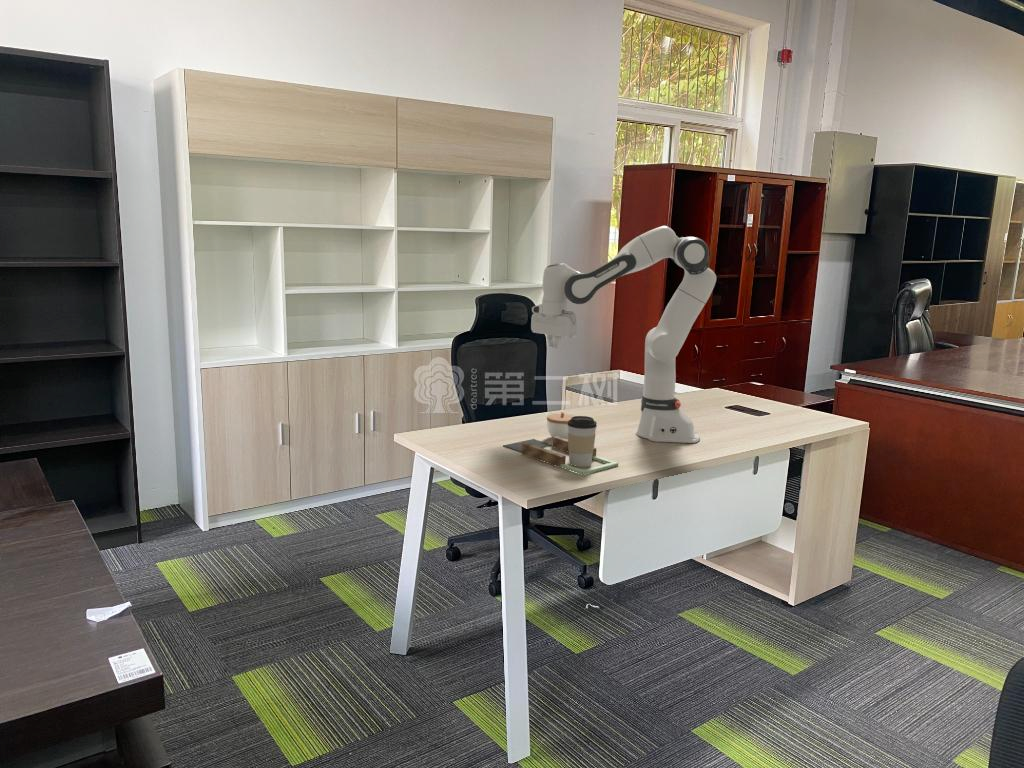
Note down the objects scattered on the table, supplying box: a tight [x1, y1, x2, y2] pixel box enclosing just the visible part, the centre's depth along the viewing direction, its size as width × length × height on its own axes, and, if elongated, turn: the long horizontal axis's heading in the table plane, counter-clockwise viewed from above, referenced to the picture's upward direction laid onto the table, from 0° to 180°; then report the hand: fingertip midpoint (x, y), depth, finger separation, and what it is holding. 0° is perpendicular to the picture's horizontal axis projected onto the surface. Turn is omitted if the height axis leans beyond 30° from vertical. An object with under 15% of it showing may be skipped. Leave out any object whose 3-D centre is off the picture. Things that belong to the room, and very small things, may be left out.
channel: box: [521, 436, 597, 468], centre depth 242 cm, size 18×16×4 cm
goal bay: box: [561, 455, 619, 476], centre depth 232 cm, size 10×16×1 cm, turn 131°
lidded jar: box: [546, 411, 576, 439], centre depth 263 cm, size 11×11×9 cm
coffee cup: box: [568, 415, 598, 467], centre depth 234 cm, size 9×9×15 cm
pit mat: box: [502, 438, 552, 453], centre depth 253 cm, size 9×14×1 cm, turn 131°
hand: (553, 347), depth 269 cm, fingers closed
